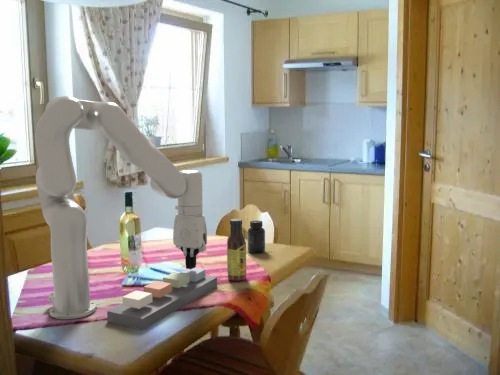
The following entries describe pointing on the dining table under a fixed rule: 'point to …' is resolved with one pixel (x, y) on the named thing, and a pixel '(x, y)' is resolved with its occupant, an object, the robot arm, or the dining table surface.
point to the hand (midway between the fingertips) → (190, 267)
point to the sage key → (176, 279)
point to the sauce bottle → (236, 252)
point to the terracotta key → (158, 288)
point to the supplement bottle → (256, 237)
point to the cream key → (137, 299)
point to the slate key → (194, 274)
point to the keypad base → (161, 305)
